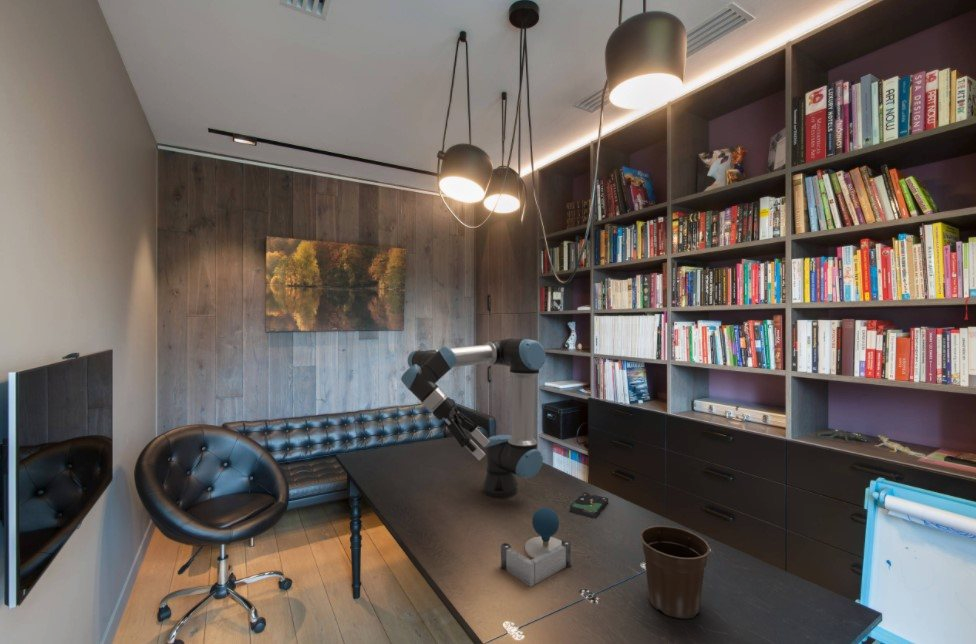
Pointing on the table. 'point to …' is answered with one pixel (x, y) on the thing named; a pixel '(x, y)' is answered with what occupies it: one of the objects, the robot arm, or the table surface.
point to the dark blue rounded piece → (545, 524)
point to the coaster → (540, 546)
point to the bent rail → (535, 563)
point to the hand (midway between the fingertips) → (484, 450)
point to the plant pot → (674, 569)
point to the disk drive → (589, 505)
